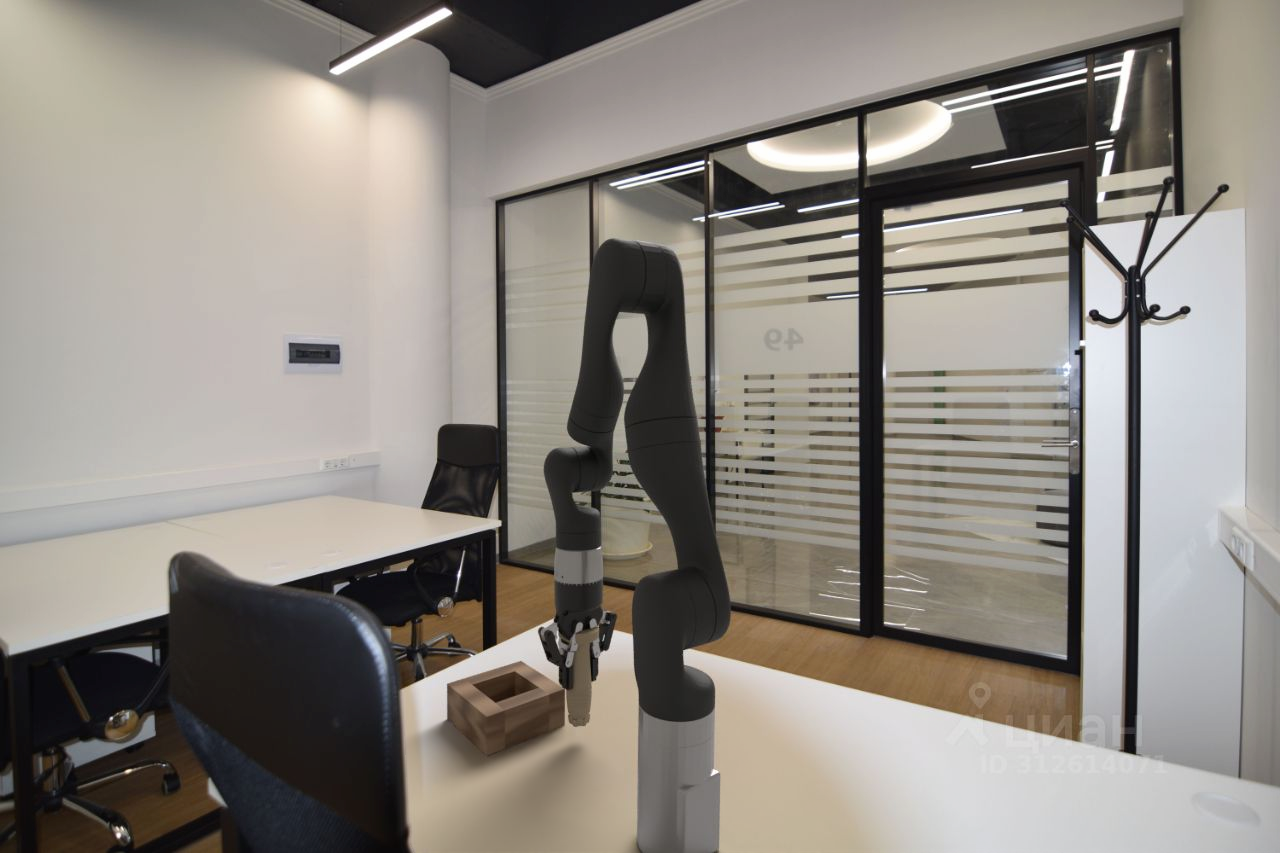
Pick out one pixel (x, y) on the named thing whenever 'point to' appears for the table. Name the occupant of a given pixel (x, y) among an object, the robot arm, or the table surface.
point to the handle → (581, 679)
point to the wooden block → (505, 706)
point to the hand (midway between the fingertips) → (579, 683)
